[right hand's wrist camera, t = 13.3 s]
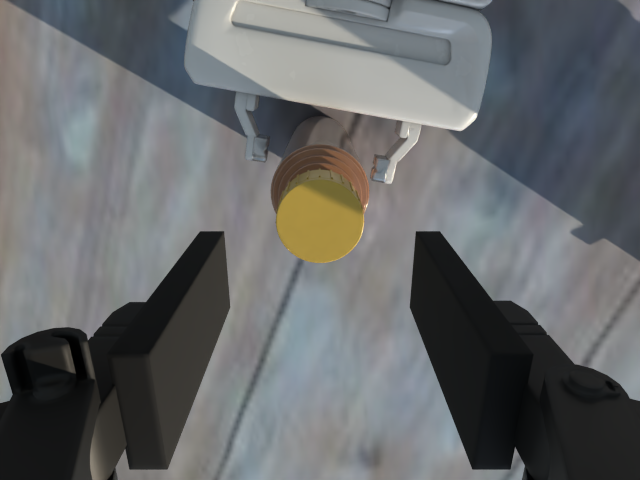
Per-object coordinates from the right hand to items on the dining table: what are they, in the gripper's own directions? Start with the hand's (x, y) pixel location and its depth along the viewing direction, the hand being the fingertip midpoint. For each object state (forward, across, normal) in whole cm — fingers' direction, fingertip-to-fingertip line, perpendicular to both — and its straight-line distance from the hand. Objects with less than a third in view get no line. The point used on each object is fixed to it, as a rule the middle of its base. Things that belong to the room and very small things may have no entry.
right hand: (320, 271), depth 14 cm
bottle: (+27, 0, 0) cm, 27 cm away
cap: (+5, 0, 0) cm, 5 cm away
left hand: (+20, 0, -1) cm, 20 cm away
